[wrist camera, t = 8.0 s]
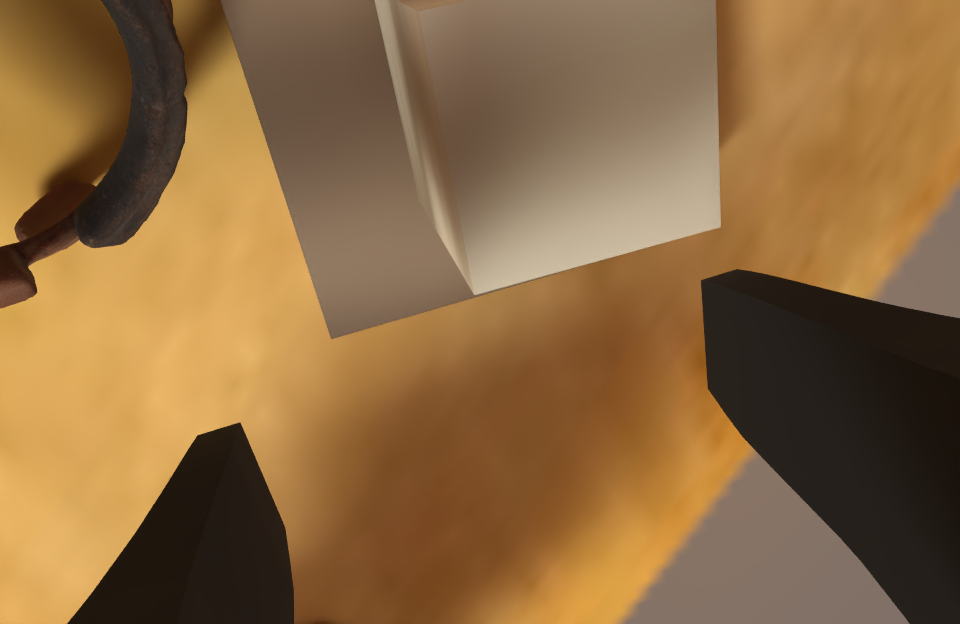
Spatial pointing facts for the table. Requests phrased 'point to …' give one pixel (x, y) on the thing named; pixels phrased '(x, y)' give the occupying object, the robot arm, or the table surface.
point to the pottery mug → (137, 168)
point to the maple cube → (557, 127)
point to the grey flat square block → (343, 159)
